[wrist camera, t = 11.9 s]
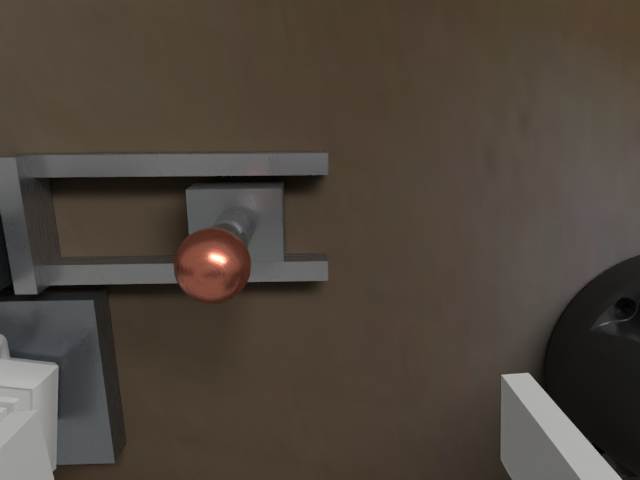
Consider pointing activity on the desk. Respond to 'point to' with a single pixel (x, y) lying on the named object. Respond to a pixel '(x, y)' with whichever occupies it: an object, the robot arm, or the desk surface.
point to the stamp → (30, 392)
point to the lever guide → (35, 169)
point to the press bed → (69, 361)
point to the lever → (229, 236)
